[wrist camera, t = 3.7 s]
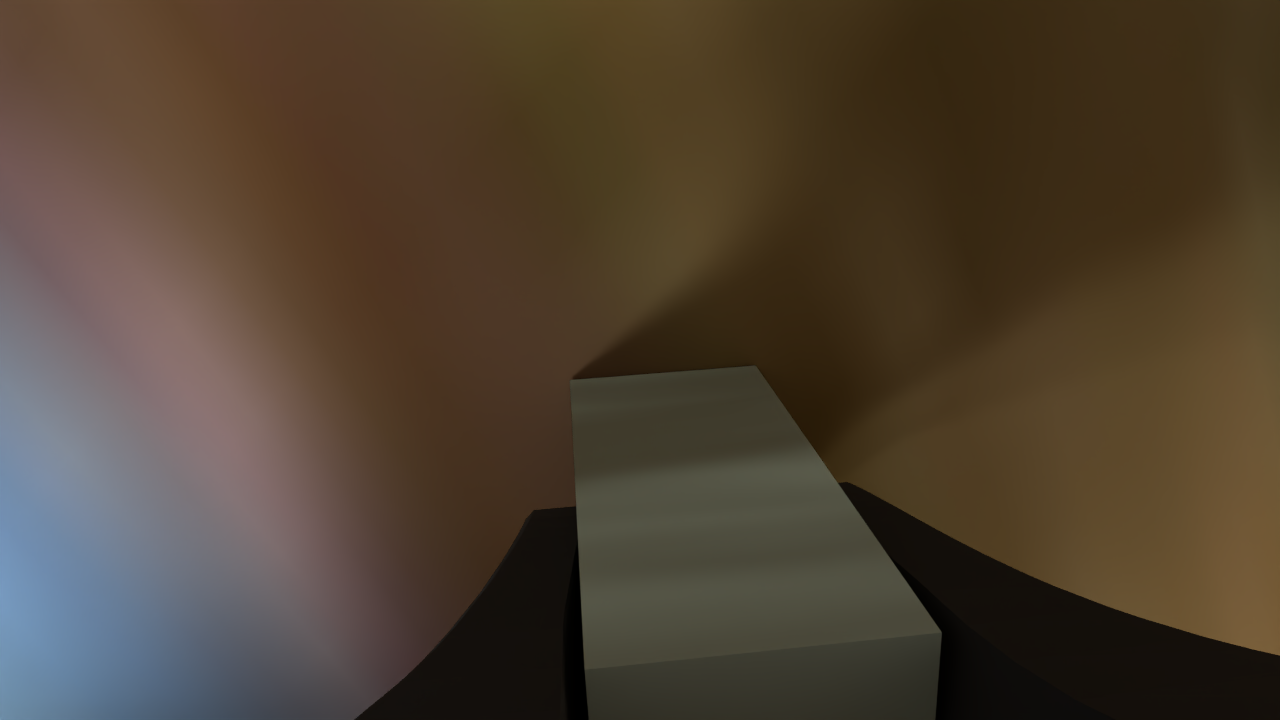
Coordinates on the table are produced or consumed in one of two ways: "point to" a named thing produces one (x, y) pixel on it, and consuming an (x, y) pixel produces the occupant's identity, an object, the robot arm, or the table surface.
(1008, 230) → the table surface
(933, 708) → the gray rectangular block
